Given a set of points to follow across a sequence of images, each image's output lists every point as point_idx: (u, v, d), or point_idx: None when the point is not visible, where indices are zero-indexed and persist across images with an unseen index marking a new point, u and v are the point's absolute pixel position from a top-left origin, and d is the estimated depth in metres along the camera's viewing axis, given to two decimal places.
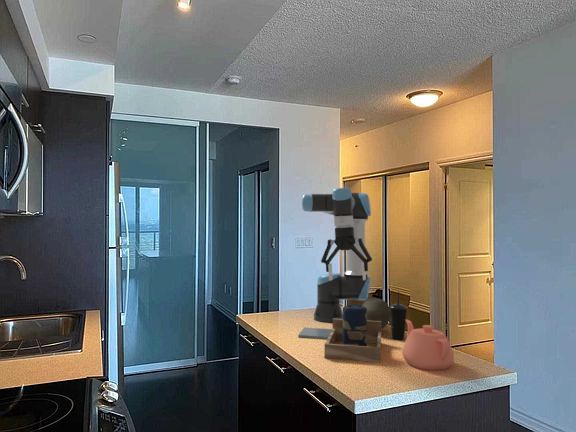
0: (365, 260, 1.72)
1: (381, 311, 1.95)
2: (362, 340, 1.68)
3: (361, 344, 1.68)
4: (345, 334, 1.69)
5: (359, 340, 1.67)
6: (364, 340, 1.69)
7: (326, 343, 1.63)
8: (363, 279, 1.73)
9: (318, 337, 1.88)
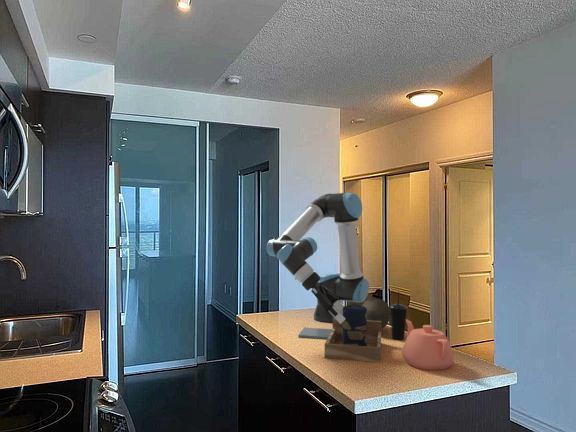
0: None
1: (381, 311, 1.95)
2: (362, 340, 1.68)
3: (361, 344, 1.68)
4: (345, 334, 1.69)
5: (359, 340, 1.67)
6: (364, 340, 1.69)
7: (326, 343, 1.63)
8: (340, 323, 1.66)
9: (318, 337, 1.88)
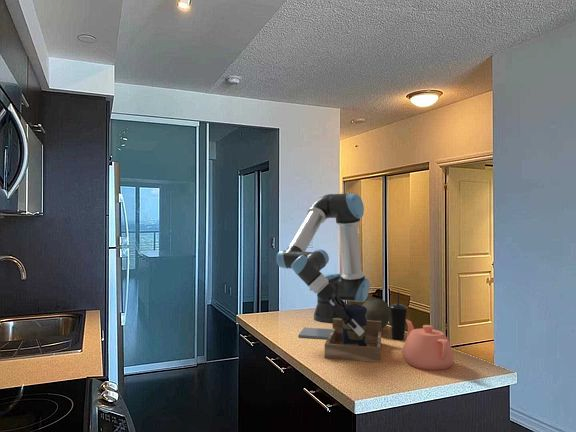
0: None
1: (381, 311, 1.95)
2: (362, 340, 1.68)
3: (361, 344, 1.68)
4: (345, 334, 1.69)
5: (359, 340, 1.67)
6: (364, 340, 1.69)
7: (326, 343, 1.63)
8: (359, 335, 1.67)
9: (318, 337, 1.88)
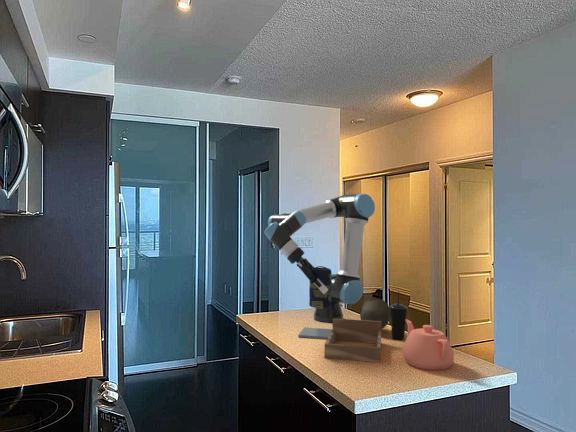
0: None
1: (381, 311, 1.95)
2: (326, 298, 1.87)
3: (325, 302, 1.87)
4: (311, 293, 1.89)
5: (323, 297, 1.87)
6: (328, 298, 1.88)
7: (326, 343, 1.63)
8: (323, 293, 1.86)
9: (318, 337, 1.88)
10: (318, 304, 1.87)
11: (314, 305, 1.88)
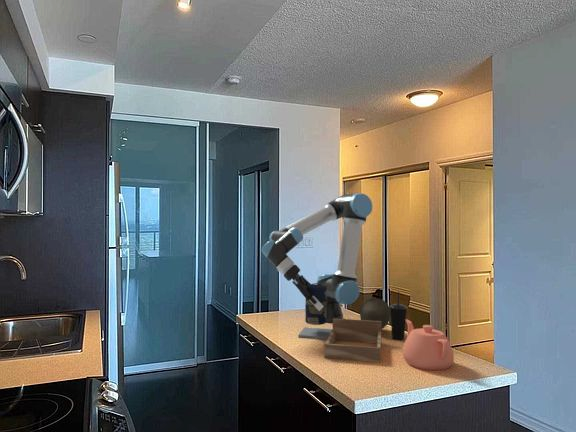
0: None
1: (381, 311, 1.95)
2: (322, 315, 1.91)
3: (320, 318, 1.91)
4: (307, 309, 1.93)
5: (319, 314, 1.91)
6: (323, 314, 1.92)
7: (326, 343, 1.63)
8: None
9: (318, 337, 1.88)
10: (314, 321, 1.91)
11: (310, 321, 1.92)
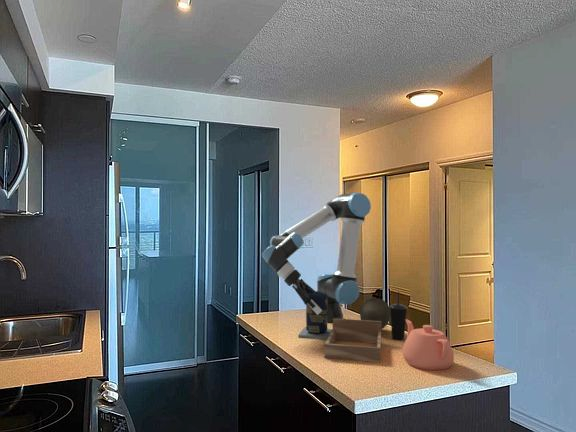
0: None
1: (381, 311, 1.95)
2: (322, 323, 1.92)
3: (321, 326, 1.91)
4: (308, 317, 1.93)
5: (319, 322, 1.91)
6: (324, 323, 1.92)
7: (326, 343, 1.63)
8: (317, 314, 1.89)
9: (318, 337, 1.88)
10: (315, 329, 1.91)
11: (311, 330, 1.92)
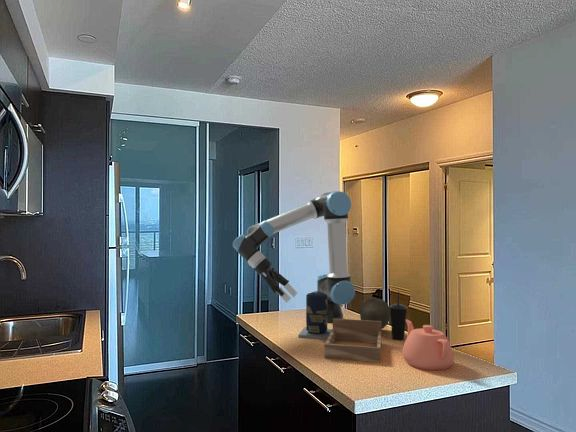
0: None
1: (381, 311, 1.95)
2: (322, 323, 1.92)
3: (321, 326, 1.91)
4: (308, 317, 1.93)
5: (319, 322, 1.91)
6: (324, 323, 1.92)
7: (326, 343, 1.63)
8: (286, 302, 1.90)
9: (318, 337, 1.88)
10: (315, 329, 1.91)
11: (311, 330, 1.92)
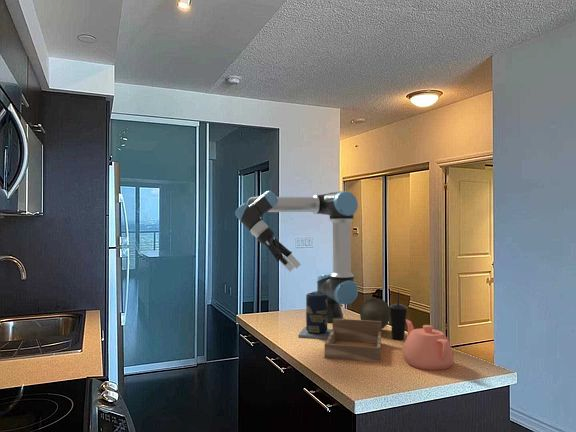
0: None
1: (381, 311, 1.95)
2: (322, 323, 1.92)
3: (321, 326, 1.91)
4: (308, 318, 1.93)
5: (319, 322, 1.91)
6: (324, 323, 1.92)
7: (326, 343, 1.63)
8: None
9: (318, 337, 1.88)
10: (315, 329, 1.91)
11: (311, 330, 1.92)
